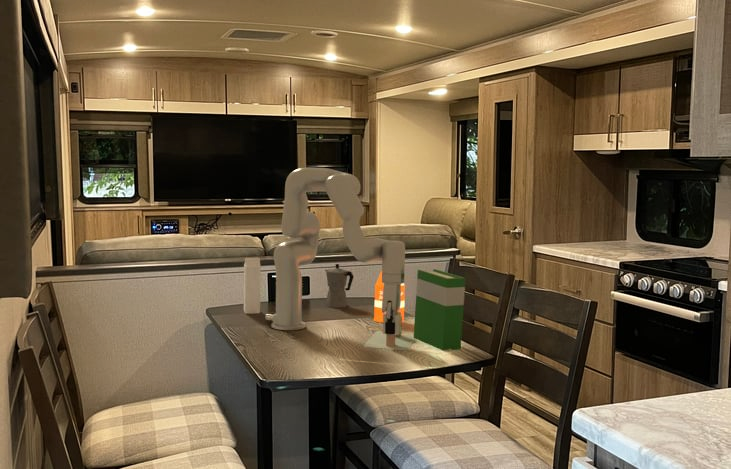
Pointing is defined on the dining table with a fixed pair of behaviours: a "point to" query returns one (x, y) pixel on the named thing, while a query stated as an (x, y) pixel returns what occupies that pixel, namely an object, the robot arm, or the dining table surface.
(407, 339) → the mat
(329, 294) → the coffeepot
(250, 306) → the milk
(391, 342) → the post
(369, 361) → the dining table surface
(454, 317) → the hardback book
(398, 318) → the beige foam cube
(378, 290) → the orange juice
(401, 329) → the post
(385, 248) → the robot arm
